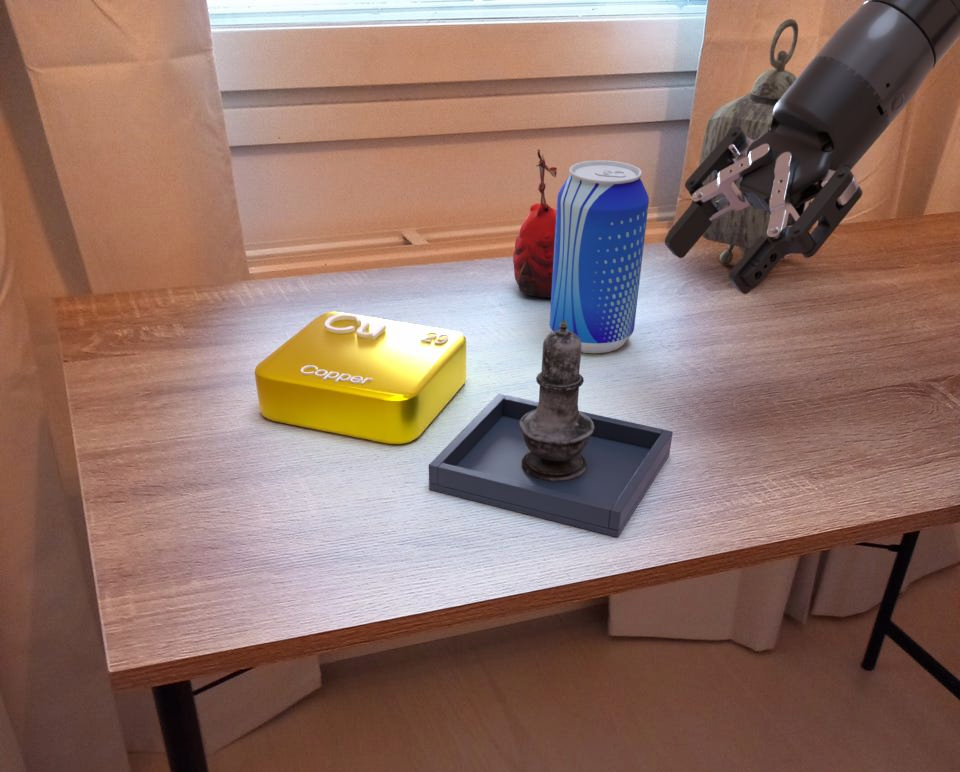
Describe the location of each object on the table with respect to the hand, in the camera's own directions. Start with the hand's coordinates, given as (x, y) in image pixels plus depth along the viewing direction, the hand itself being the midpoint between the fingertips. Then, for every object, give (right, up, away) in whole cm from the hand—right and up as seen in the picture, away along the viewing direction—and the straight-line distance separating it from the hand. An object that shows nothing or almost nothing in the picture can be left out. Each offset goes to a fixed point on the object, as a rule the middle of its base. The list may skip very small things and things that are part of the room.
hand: (702, 268), depth 79 cm
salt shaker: (-11, -15, +3) cm, 19 cm away
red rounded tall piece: (-10, +10, +33) cm, 36 cm away
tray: (-11, -15, +3) cm, 19 cm away
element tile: (-28, -7, +13) cm, 31 cm away
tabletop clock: (+13, +14, +40) cm, 44 cm away
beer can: (-6, +1, +23) cm, 24 cm away
